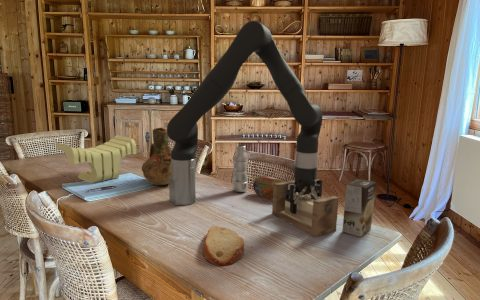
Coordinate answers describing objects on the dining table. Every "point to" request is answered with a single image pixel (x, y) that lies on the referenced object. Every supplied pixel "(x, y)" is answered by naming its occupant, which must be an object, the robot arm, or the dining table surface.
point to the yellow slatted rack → (101, 157)
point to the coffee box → (358, 207)
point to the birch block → (302, 209)
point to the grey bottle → (240, 169)
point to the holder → (321, 216)
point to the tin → (265, 186)
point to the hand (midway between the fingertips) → (303, 211)
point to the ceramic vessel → (158, 159)
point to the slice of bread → (223, 246)
